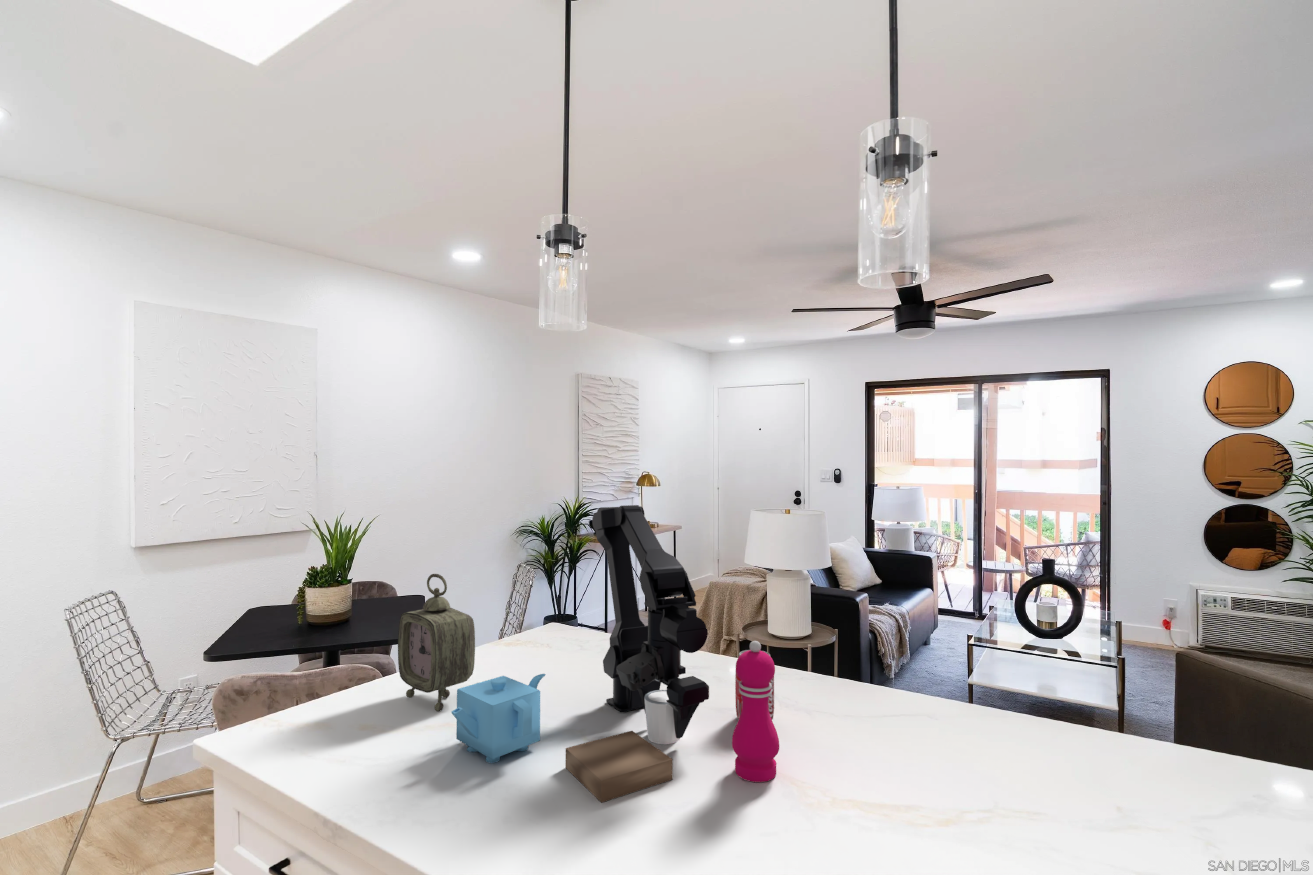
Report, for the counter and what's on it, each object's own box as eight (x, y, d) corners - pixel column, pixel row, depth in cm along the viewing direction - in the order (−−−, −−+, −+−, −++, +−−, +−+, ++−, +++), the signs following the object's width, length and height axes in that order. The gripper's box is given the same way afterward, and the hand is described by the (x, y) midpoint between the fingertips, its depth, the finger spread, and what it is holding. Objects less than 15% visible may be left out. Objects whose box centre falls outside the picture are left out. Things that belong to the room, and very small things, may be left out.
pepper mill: (782, 765, 101) (782, 636, 101) (775, 787, 94) (775, 649, 95) (737, 758, 103) (737, 632, 104) (727, 779, 96) (727, 645, 97)
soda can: (772, 713, 121) (772, 649, 122) (775, 728, 114) (775, 660, 115) (735, 711, 122) (734, 648, 122) (736, 727, 115) (735, 659, 115)
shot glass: (642, 729, 114) (643, 689, 114) (681, 727, 115) (681, 688, 115) (645, 746, 107) (645, 704, 108) (686, 745, 108) (686, 702, 108)
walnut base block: (565, 767, 100) (565, 747, 100) (632, 748, 106) (632, 730, 106) (601, 802, 90) (601, 780, 90) (672, 779, 96) (672, 759, 96)
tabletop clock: (397, 697, 129) (398, 572, 130) (438, 685, 136) (439, 566, 136) (435, 717, 119) (437, 581, 120) (477, 702, 126) (479, 575, 127)
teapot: (427, 750, 106) (428, 681, 106) (519, 718, 119) (520, 656, 119) (480, 784, 95) (481, 707, 95) (574, 744, 108) (575, 676, 108)
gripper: (598, 631, 115) (597, 719, 115) (653, 658, 99) (653, 761, 99) (650, 622, 121) (650, 706, 121) (711, 647, 105) (711, 743, 105)
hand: (664, 727), depth 111 cm, fingers open, 9 cm apart
